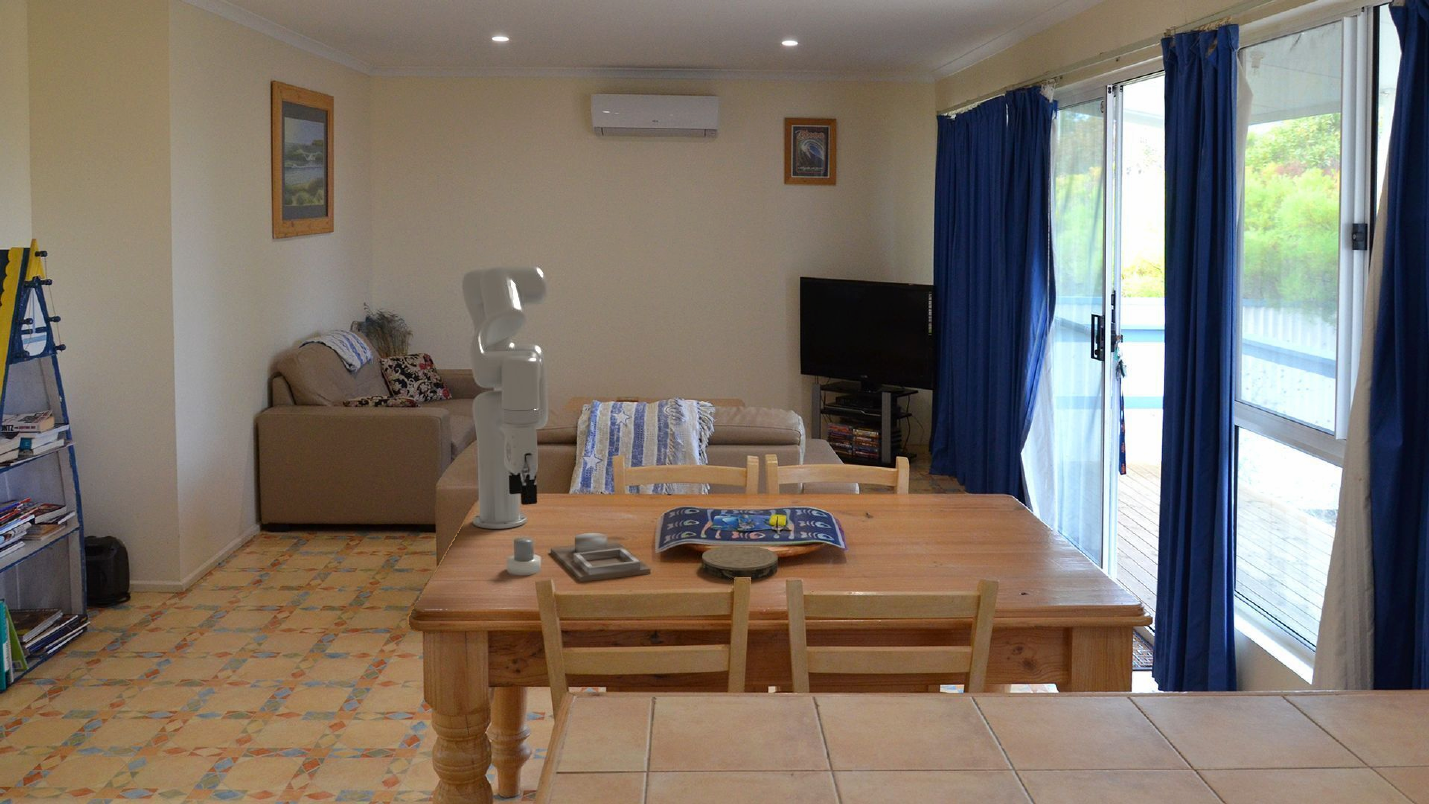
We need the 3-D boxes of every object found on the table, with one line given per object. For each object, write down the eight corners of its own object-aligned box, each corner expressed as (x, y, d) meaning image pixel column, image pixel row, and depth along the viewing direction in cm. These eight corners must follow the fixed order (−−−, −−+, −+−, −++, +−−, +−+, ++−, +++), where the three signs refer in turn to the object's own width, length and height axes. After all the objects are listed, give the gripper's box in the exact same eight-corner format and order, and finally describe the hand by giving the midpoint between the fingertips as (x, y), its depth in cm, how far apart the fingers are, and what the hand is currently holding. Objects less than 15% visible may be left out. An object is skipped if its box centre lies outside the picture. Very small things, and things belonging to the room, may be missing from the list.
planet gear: (503, 567, 252) (502, 537, 251) (536, 563, 255) (535, 534, 254) (511, 577, 246) (511, 546, 245) (545, 573, 248) (544, 542, 247)
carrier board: (550, 552, 263) (550, 534, 262) (615, 544, 268) (615, 527, 268) (580, 581, 243) (580, 562, 242) (650, 573, 249) (650, 554, 248)
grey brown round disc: (754, 586, 242) (754, 572, 241) (687, 573, 250) (687, 559, 249) (791, 566, 255) (791, 552, 254) (726, 554, 263) (726, 541, 263)
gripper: (493, 411, 251) (495, 491, 254) (513, 425, 235) (515, 510, 238) (528, 409, 254) (529, 488, 257) (550, 422, 238) (552, 506, 241)
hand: (522, 498), depth 247 cm, fingers open, 9 cm apart
